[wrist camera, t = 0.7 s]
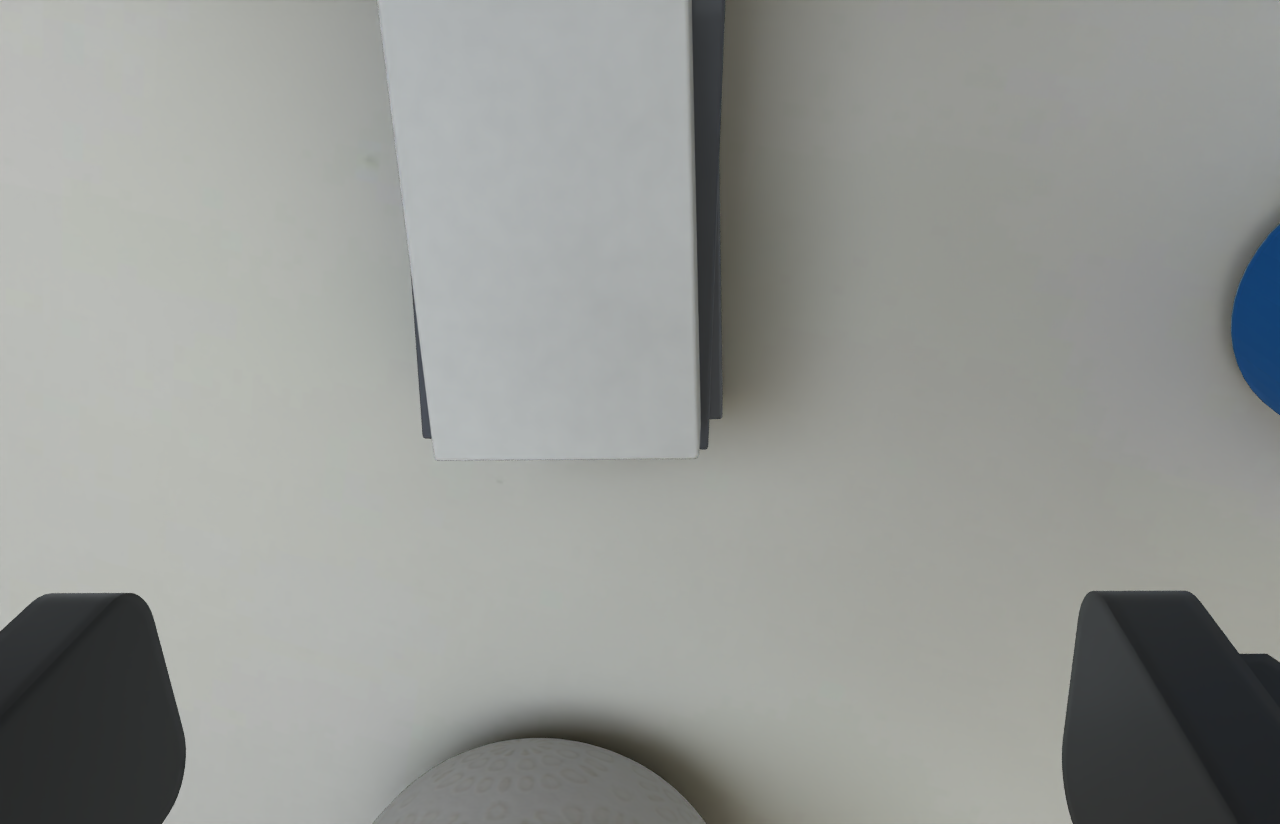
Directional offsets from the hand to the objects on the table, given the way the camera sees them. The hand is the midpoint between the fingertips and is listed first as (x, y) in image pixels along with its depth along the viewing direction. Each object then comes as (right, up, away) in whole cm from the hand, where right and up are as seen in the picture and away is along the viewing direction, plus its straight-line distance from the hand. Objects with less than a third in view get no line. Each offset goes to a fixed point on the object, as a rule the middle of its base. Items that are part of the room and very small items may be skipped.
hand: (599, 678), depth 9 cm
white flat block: (-1, +8, +14) cm, 16 cm away
